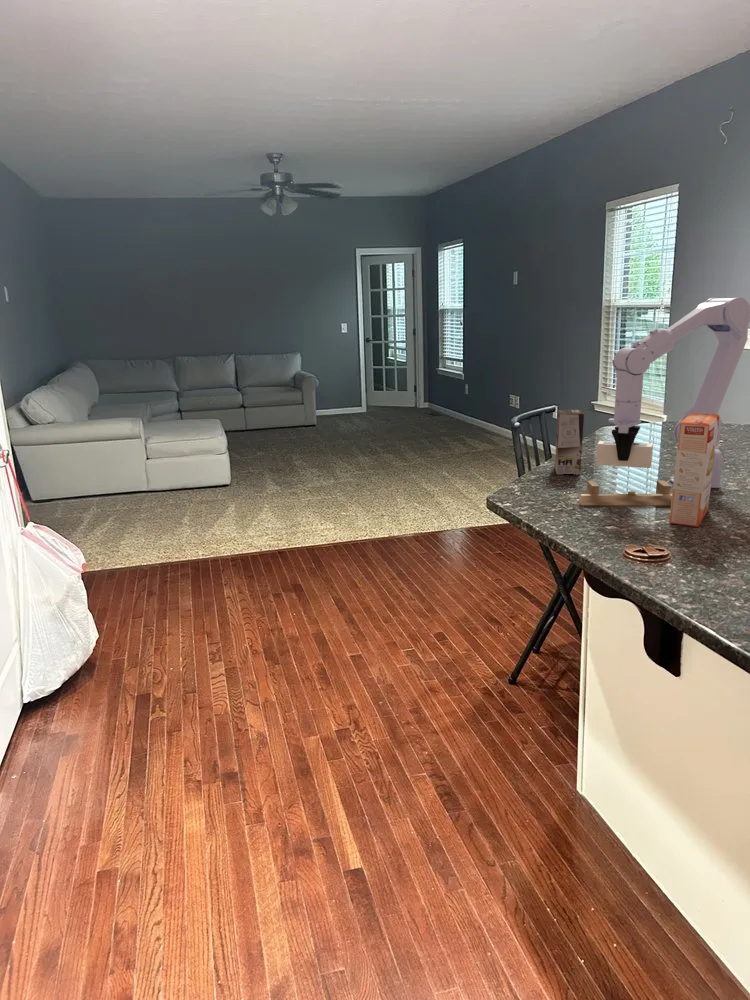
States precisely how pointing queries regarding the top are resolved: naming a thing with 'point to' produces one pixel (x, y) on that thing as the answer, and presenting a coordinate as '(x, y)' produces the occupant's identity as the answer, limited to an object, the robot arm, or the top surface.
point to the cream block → (637, 458)
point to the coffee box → (569, 441)
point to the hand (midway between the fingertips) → (624, 458)
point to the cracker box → (693, 468)
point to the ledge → (627, 496)
